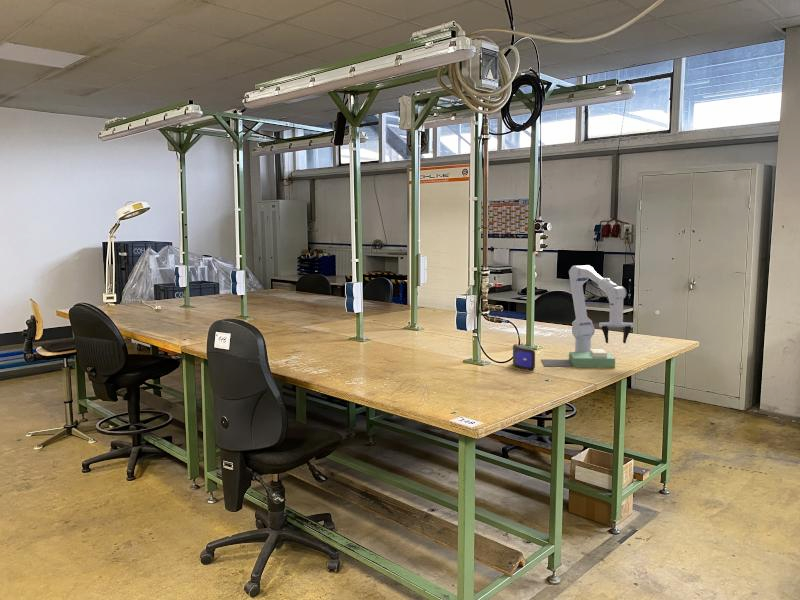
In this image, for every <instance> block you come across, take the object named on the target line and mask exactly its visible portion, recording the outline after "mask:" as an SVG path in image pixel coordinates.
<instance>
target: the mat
mask: <svg viewBox="0 0 800 600" xmlns="http://www.w3.org/2000/svg"><path fill="white" fill-rule="evenodd" d="M540 361H541V364H542V366H543V365H544V366H543V367H549V368H551V367H552V368H553V367H555V368H556V367H557V368H559V367H560V368H561V367H562V368H574V367H573V365H572V363H571V362H570V360H569V359H547V358H546V359H540Z"/></svg>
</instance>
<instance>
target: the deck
mask: <svg viewBox="0 0 800 600" xmlns="http://www.w3.org/2000/svg"><path fill="white" fill-rule="evenodd" d="M606 352H607V357H593V356H592V355H591V354H590V352H575V351H569V352H568V360H570V362H571V363H572V365H573V367H572V368H616V358H615V357H614V356H613V355H612V354H611V353H610V352H608V351H606Z"/></svg>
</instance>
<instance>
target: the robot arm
mask: <svg viewBox="0 0 800 600" xmlns="http://www.w3.org/2000/svg"><path fill="white" fill-rule="evenodd" d="M568 275H569V283H570V289H571V296H572V300H573V309H574V313H575V314H574V315H575V319H574V321H572V322H571V325H572V327H571V333H572V336H573V338H574V352H590V349H592V347H591V346H592V345H591V344H592V338H593V336H594V335H595V332H596V329H595V328H596V327H595V326H594V324H593V320H592V319H590V318H589V317H588V312H587V306H586V299H585V294H584V287H583V285H584V284H585V283H586V282H587V281H589V279H590V280H591V281H593V282H594V283H596V284H597V285H598V288H599V289H600V290H601V291H603V292H604V293H605V294H606V296H607V297H608V302H609V321H608V322H607V321H606V322H604V321H603V322H598V327H599V328H601V330H602V332H603V336H604V339H605V344H609V330H610V329H609V328H623V331H622V333H623V335H622V336H623V337H622V343H623V344H626V343H627V339H628V337H629V334H630V332H631V331H632V328H634V322H627V321H625V322H624V299H625V298H626V296H627V289H626V288H625V287H624V286H622V285H621V286H619V285H618V284H617V283H614V281H612V280H611V278H609V277H602V276H601V274H599V273H597V271H596V270H595V269H594V267H593V266H591V265H590V264H585V265H572V266H571V268H570V269H569V270H568Z"/></svg>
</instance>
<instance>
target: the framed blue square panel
mask: <svg viewBox="0 0 800 600" xmlns="http://www.w3.org/2000/svg"><path fill="white" fill-rule="evenodd" d="M512 364H513V366H514V367H516V368H519V369H522V370H526V369H527V371H533V370H534V369H535V367H536V351H535V350H534V349H533V348H530V347H527V346H523V345H521V344H517V343H515V344H514V343H513V345H512Z"/></svg>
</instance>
